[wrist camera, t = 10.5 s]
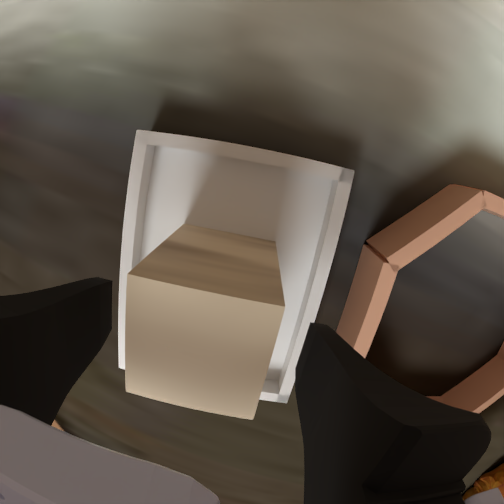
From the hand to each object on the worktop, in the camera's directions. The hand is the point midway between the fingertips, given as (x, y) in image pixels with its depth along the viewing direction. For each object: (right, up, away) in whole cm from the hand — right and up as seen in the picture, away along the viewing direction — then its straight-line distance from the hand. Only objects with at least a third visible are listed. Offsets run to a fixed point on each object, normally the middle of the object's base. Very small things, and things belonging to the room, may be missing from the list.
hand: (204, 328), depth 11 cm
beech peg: (0, +1, +5) cm, 5 cm away
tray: (0, +2, +5) cm, 6 cm away
